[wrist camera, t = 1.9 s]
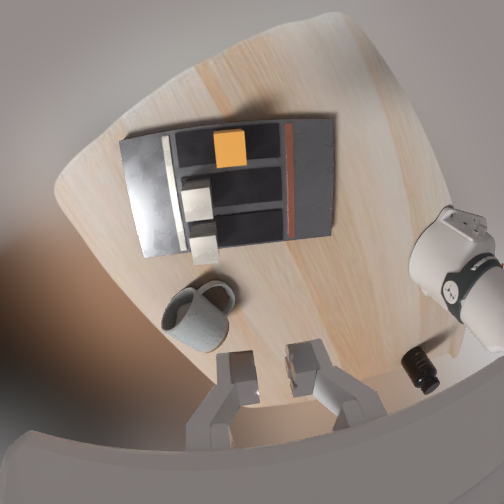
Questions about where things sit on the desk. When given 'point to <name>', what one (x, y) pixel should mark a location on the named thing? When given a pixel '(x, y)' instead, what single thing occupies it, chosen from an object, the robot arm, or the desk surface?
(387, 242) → the desk surface
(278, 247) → the desk surface
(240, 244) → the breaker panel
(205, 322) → the ceramic mug
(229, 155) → the toggle
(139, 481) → the robot arm
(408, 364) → the supplement bottle
